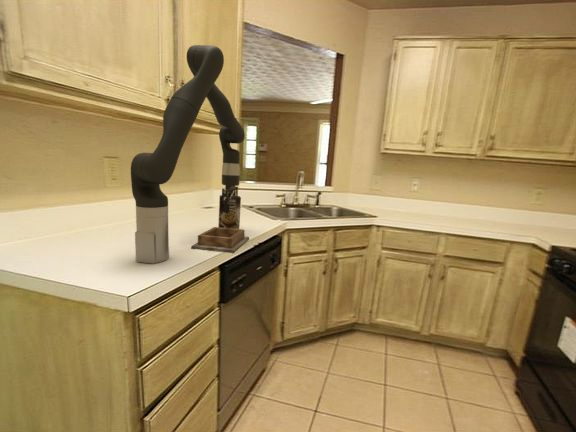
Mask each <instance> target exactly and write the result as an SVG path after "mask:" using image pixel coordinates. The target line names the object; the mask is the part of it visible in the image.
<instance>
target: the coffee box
mask: <svg viewBox="0 0 576 432" xmlns="http://www.w3.org/2000/svg"><path fill="white" fill-rule="evenodd" d="M225 200H226V199H225ZM241 201H242V197H241V196H240V195H238V196H232V199H231V200H230V203H229V213H224V204H223V203H222V194H220V195H219V201H218V202H219V203H218V205H219V206H218V224H217V227H220V228H231V229H240V226H241V204H242V203H241Z"/></svg>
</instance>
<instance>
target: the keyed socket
mask: <svg viewBox="0 0 576 432" xmlns="http://www.w3.org/2000/svg"><path fill="white" fill-rule="evenodd" d="M249 240H250V236H245V229H242V228H241V229H240V228H239V229H231V228H220V227H218V226H214V227H211V228H210V229H208V230H206V231H204V232H202V233H200V234H198V235H197V242H195V243H194V244H192V245H191V246H190V247H191V248H190V249H192V250H198V251H199V250H201V251H210V252H211V251H212V252H219V253H229V254H234V253H235V252H236V251H237V252H238V250H239V249H240V248H241V247H242V246H244V245H245V244H246V243H247V242H249Z"/></svg>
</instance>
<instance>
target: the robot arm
mask: <svg viewBox="0 0 576 432" xmlns="http://www.w3.org/2000/svg"><path fill="white" fill-rule="evenodd" d="M224 62H225V57H224V54H223V51H222V49H221V48H219V47H218V46H216V45H209V44H206V45H204V44H193V45H191V46H189V48H188V49H187V52H186V63H187V66H188V68H189V70H190V72H191V73H192V75H193V77H192V78H191V79H190V80H189V81H188V82H186V83H185V84H183V85H182V86H181V87H180V88H178V89H177V90H176V91H175V92H174V93H173V95H171V98H170V99H169V101H168V103H167V104H166V107H165V109H164V111H163V115H162V126H163V128H162V129H163V130H162V136H161V138H160V141H159V143H158V145H157V147H156V148H155V150H154V151H153V152H140V153H138V154H136V155H135V156H134V157H133V158H132V161H131V163H130V181H131V193H132V196H133V198H134V201H135V222H136V223H135V224H136V226H135V227H136V231H135V232H134V244H135V262H136V263H144V264H151V265H153V264H156V263H162V262H165V261H167V260H169V258H170V247H169V242H170V241H169V240H170V239H169V238H170V237H169V198H168V196H167V195H166V194H165V193H164V192H163V191H162V190H161V187H160V185H164V184H166V183H167V182H169V181H170V179H171V178H172V176H173V174H174V172H175V170H176V166H177V163H178V160H179V157H180V155H181V152H182V149H183V147H184V144H185V142H186V140H187V137H188V136H189V133H190V131H191V129H192V127H193V125H194V123H195V122H196V119H197V117H198V115H199V112H200V110H201V108H202V106H203V104H204V102H205V100H206V98H207V100H208V102H209V104H210V108H211V109H212V111H213V113H214V116H215V118H216V122H217V123H218V124H219V125H220V126H221V128H220V129H219V131H218V137H219V141H220V146H221V151H222V165H221V185H222V186H225V187H224V188H222V189H221V195H222V203H223V204H224V213H229V203H230V200H231V199H232V196H239V187H238V186H239V185H240V172H241V169H240V168H241V167H240V158H241V157H240V151H239V150H238V149H235V148H232V146H231V144H242V143H243V142H244V140H245V136H246V135H245V134H246V133H245V131H244V128H243V126H242V124H241V123H240V121H239V120H238V119H237V118H236V117H235V114H234V112H233V108H232V105H231V103H230V101H229V100H228V98H227V96H226V95H225V94H224V93H223V92H222V90H220V88H219V87H218V86H217V85H216V84H215V83H216V81H217V80H218V78H219V76H220V75H221V73H222V70H223V67H224ZM225 199H226V200H225Z"/></svg>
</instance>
